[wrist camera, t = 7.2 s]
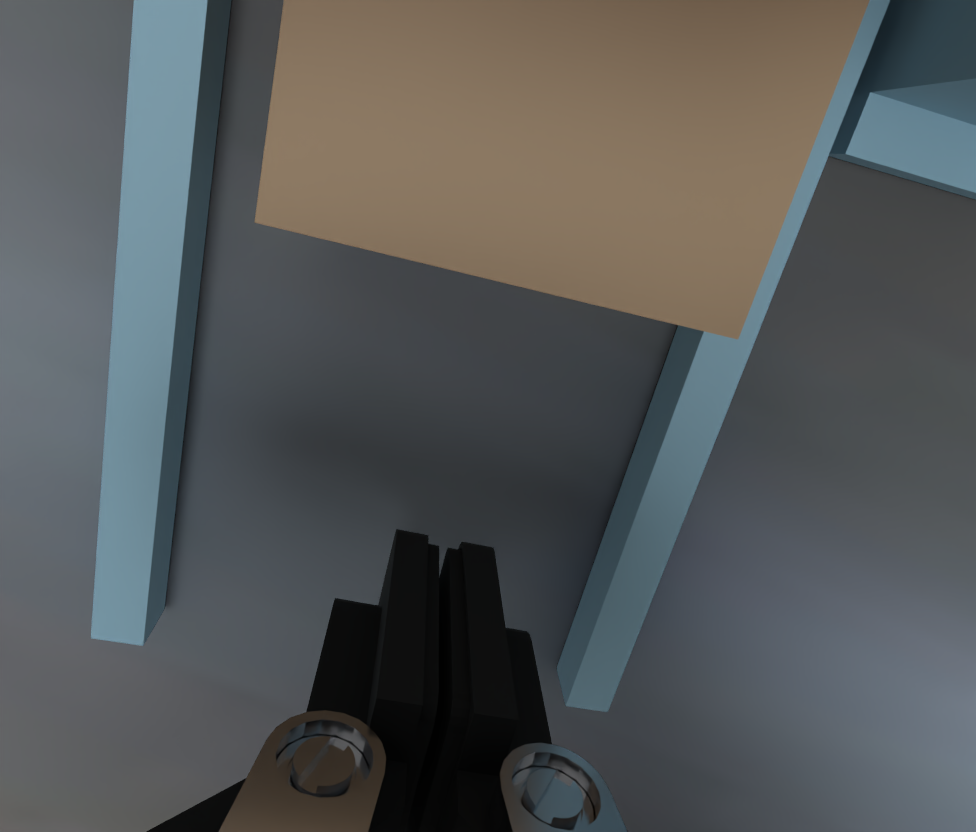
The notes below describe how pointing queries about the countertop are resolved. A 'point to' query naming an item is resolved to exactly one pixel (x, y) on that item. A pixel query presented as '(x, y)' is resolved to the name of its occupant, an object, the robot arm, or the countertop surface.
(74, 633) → the countertop surface
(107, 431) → the press
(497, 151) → the housing
